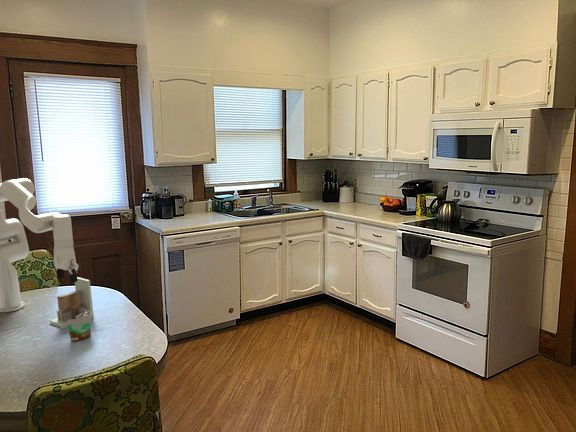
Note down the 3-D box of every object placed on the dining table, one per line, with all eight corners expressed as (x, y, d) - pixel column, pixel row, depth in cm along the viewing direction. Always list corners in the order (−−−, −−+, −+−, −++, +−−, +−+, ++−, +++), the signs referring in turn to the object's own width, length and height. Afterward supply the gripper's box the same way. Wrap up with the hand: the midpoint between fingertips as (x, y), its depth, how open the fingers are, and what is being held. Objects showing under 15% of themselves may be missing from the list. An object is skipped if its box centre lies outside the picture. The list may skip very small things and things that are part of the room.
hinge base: (63, 328, 215) (58, 289, 211) (50, 323, 220) (45, 285, 217) (93, 316, 227) (90, 280, 223) (80, 312, 232) (76, 276, 229)
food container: (82, 344, 199) (79, 320, 197) (68, 343, 200) (66, 320, 198) (99, 331, 211) (97, 309, 209) (86, 330, 212) (84, 308, 210)
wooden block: (63, 321, 218) (61, 297, 216) (59, 320, 220) (57, 296, 218) (84, 314, 226) (81, 291, 224) (80, 312, 228) (77, 289, 226)
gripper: (44, 242, 218) (48, 279, 222) (67, 247, 209) (71, 286, 212) (60, 238, 224) (63, 274, 228) (83, 244, 215) (86, 281, 218)
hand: (67, 280), depth 220 cm, fingers open, 9 cm apart
